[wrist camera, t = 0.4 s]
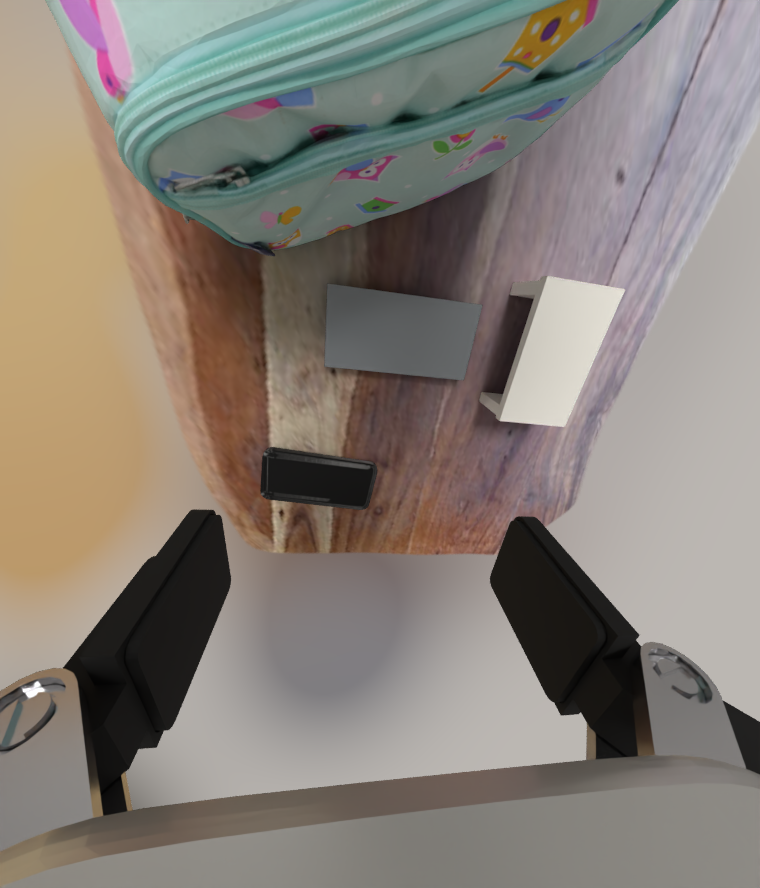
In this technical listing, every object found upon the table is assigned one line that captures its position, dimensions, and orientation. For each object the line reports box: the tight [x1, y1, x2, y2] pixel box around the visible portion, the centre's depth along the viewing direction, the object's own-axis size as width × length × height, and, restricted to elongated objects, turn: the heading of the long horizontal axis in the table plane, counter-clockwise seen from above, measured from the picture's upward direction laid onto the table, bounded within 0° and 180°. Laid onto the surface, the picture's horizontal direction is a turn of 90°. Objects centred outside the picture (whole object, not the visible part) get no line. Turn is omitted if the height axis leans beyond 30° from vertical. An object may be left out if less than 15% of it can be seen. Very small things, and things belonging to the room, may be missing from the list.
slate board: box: [324, 283, 482, 380], centre depth 32 cm, size 8×16×2 cm, turn 83°
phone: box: [261, 447, 377, 510], centre depth 40 cm, size 8×1×15 cm
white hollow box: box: [479, 276, 625, 427], centre depth 33 cm, size 14×8×6 cm, turn 173°
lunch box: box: [45, 0, 679, 256], centre depth 17 cm, size 27×10×21 cm, turn 108°
